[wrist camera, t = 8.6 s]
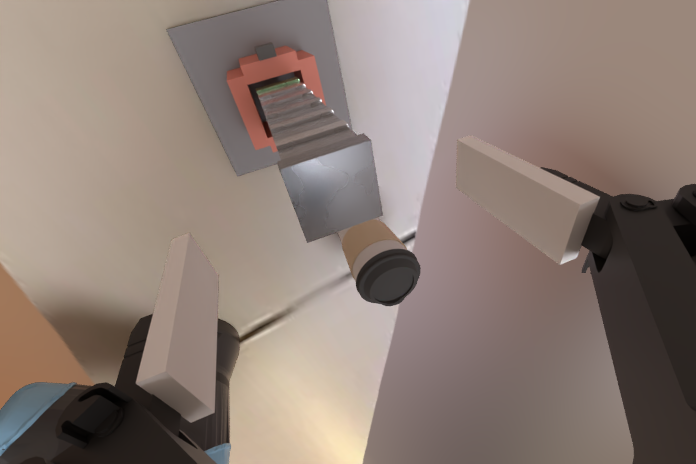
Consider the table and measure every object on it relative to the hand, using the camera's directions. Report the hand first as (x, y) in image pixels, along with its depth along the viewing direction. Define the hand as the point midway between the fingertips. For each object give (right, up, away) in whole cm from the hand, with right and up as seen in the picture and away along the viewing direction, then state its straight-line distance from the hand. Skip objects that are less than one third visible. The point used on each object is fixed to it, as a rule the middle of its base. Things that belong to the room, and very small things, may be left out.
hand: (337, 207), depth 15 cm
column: (-6, +11, +15) cm, 20 cm away
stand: (-8, +15, +21) cm, 27 cm away
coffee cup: (+2, 0, +36) cm, 36 cm away
